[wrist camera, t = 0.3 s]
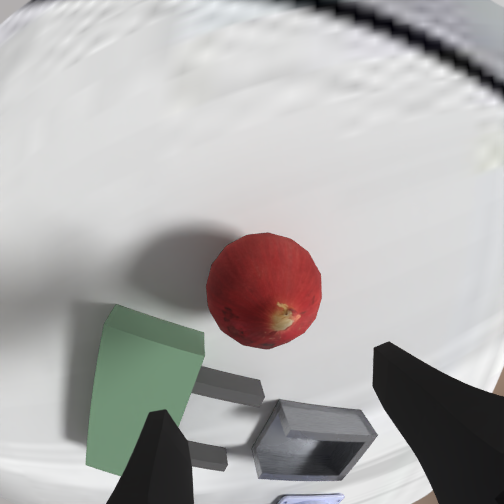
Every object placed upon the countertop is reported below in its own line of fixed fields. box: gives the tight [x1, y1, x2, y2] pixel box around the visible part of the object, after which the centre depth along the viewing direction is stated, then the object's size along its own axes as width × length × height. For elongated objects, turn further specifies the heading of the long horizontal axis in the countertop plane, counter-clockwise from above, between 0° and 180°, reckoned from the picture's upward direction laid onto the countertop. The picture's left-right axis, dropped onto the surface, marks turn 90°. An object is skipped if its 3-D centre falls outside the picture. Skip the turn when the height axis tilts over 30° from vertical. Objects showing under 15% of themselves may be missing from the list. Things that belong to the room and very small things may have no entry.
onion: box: [206, 233, 322, 349], centre depth 16 cm, size 6×6×8 cm
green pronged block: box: [86, 304, 265, 476], centre depth 20 cm, size 14×11×3 cm
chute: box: [252, 400, 378, 481], centre depth 22 cm, size 6×8×4 cm
